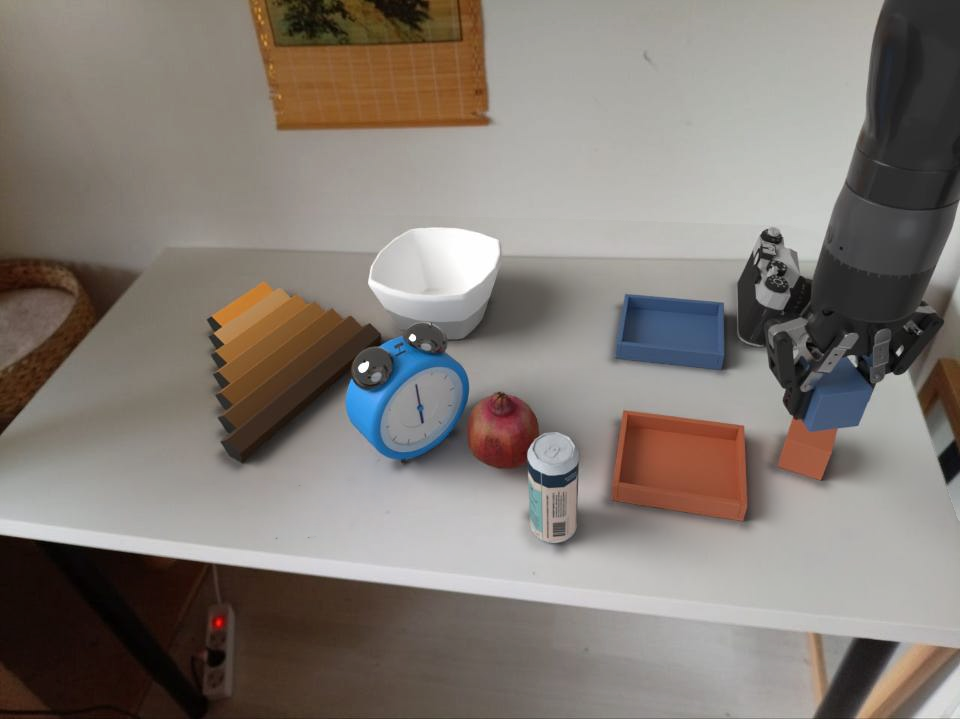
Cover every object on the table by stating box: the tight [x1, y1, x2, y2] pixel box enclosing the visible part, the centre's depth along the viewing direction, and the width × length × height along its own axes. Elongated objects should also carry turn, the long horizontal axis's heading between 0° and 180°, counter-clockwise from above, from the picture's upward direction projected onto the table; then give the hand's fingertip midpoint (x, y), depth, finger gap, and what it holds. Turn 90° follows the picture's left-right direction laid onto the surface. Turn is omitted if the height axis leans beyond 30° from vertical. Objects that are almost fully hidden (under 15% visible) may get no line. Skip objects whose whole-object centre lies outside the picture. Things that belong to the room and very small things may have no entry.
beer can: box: [527, 431, 580, 544], centre depth 66 cm, size 5×5×12 cm
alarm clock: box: [345, 322, 470, 464], centre depth 76 cm, size 13×6×15 cm, turn 129°
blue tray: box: [615, 293, 725, 371], centre depth 91 cm, size 13×11×2 cm
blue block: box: [801, 356, 874, 432], centre depth 59 cm, size 4×4×4 cm
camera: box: [736, 226, 813, 348], centre depth 90 cm, size 15×11×10 cm
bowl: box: [367, 226, 503, 340], centre depth 96 cm, size 18×18×9 cm
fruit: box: [465, 391, 541, 470], centre depth 74 cm, size 8×8×10 cm
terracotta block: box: [777, 417, 838, 481], centre depth 73 cm, size 4×4×4 cm
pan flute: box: [206, 280, 382, 464], centre depth 92 cm, size 25×3×25 cm
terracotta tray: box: [611, 409, 749, 522], centre depth 74 cm, size 13×11×2 cm
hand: (822, 408), depth 60 cm, fingers closed on blue block, 4 cm apart
